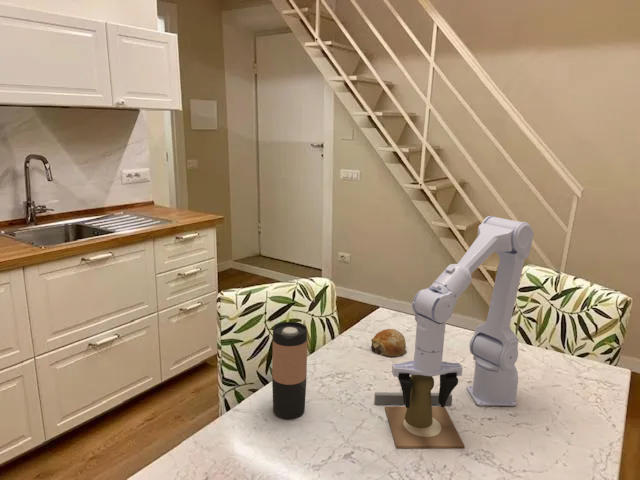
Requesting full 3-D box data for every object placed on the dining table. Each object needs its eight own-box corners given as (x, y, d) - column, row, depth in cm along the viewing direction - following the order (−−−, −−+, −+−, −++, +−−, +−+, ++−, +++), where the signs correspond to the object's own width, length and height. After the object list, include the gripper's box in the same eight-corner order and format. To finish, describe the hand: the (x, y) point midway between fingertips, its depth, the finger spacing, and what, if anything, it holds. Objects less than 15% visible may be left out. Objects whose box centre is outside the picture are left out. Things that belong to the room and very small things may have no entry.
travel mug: (290, 397, 112) (291, 318, 108) (312, 411, 107) (314, 329, 102) (265, 409, 107) (265, 327, 102) (287, 424, 102) (288, 339, 97)
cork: (434, 429, 101) (438, 382, 98) (405, 426, 101) (409, 380, 99) (430, 412, 107) (434, 368, 104) (403, 410, 107) (406, 366, 105)
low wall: (449, 402, 112) (450, 392, 111) (451, 405, 111) (452, 395, 110) (374, 401, 111) (374, 392, 111) (375, 404, 110) (375, 395, 110)
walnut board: (444, 408, 109) (444, 406, 109) (464, 448, 96) (464, 445, 96) (384, 408, 109) (384, 405, 109) (396, 448, 95) (396, 445, 95)
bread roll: (401, 370, 134) (415, 346, 132) (369, 354, 133) (383, 331, 131) (396, 353, 144) (409, 332, 142) (366, 339, 143) (379, 317, 141)
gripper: (456, 337, 102) (450, 394, 105) (390, 338, 101) (386, 395, 104) (468, 352, 96) (462, 412, 99) (398, 353, 94) (393, 413, 98)
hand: (424, 404), depth 101 cm, fingers open, 7 cm apart
